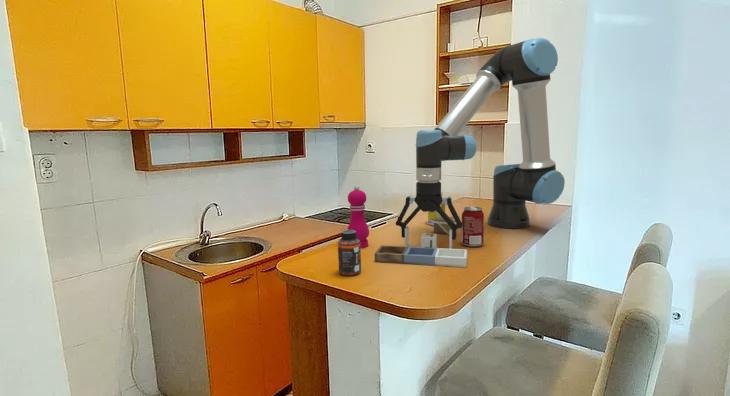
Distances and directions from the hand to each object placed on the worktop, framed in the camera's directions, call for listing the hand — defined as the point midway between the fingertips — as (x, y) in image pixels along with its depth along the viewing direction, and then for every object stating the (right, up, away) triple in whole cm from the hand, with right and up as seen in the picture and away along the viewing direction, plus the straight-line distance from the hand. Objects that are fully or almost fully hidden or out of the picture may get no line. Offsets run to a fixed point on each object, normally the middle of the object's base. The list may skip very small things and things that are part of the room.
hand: (428, 248), depth 127 cm
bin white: (+5, -2, -12) cm, 13 cm away
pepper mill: (-22, 0, +6) cm, 23 cm away
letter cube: (0, 0, 0) cm, 0 cm away
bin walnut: (-12, -2, -8) cm, 14 cm away
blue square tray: (-4, -2, -10) cm, 11 cm away
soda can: (+15, +1, +3) cm, 15 cm away
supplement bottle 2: (+8, +5, +33) cm, 34 cm away
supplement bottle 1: (-24, -4, -19) cm, 31 cm away
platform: (+8, +3, +19) cm, 21 cm away
